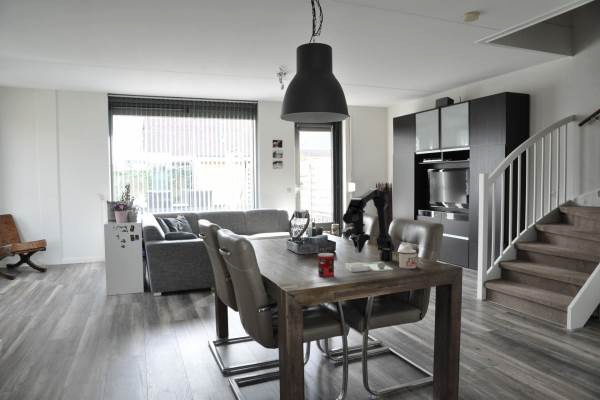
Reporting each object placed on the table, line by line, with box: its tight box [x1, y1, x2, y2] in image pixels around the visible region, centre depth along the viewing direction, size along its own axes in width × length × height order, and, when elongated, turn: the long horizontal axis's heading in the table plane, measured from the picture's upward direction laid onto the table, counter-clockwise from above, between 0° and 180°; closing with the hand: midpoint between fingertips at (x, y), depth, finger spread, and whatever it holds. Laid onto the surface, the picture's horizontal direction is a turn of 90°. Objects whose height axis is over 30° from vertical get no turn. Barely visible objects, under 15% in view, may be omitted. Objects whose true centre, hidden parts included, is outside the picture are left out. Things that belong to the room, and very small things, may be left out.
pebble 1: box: [354, 246, 363, 255], centre depth 225 cm, size 4×4×4 cm
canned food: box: [317, 252, 335, 278], centre depth 217 cm, size 8×8×11 cm
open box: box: [344, 261, 371, 273], centre depth 228 cm, size 10×10×3 cm
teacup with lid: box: [398, 245, 419, 269], centre depth 231 cm, size 12×9×12 cm
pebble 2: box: [377, 260, 386, 269], centre depth 227 cm, size 4×4×4 cm
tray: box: [364, 261, 394, 272], centre depth 232 cm, size 10×18×1 cm, turn 14°
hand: (358, 251), depth 225 cm, fingers closed on pebble 1, 4 cm apart
